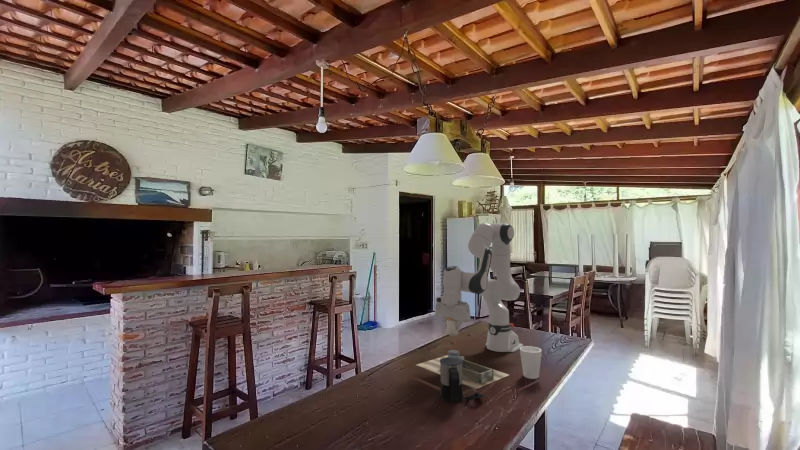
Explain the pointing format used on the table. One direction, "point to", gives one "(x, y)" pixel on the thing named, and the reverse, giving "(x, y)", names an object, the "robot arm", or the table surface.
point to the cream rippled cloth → (468, 373)
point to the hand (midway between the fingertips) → (452, 328)
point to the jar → (451, 326)
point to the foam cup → (531, 361)
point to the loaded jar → (453, 353)
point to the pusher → (462, 360)
